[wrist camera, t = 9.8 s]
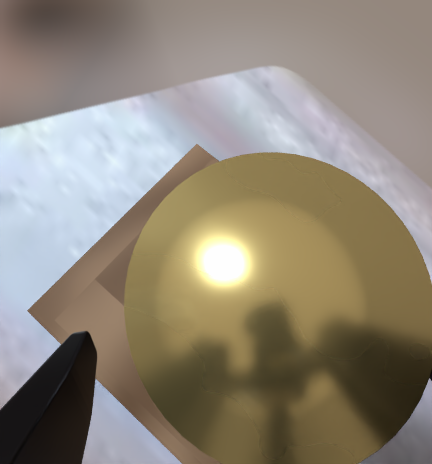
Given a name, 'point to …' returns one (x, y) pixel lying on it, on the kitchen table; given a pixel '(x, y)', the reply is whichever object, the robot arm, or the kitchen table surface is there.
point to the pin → (279, 313)
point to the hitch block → (118, 308)
